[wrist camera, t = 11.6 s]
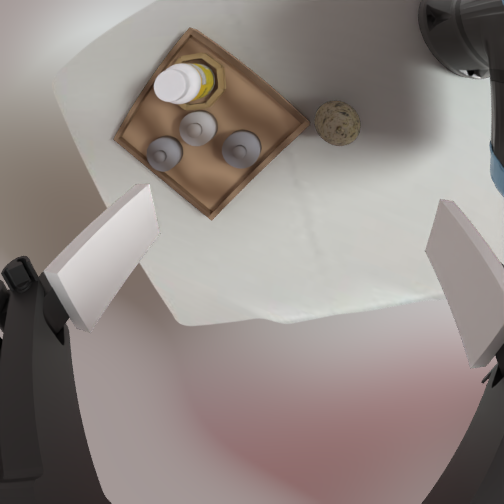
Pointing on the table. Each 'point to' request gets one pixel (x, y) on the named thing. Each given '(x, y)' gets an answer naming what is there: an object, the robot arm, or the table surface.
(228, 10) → the table surface
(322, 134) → the decorative egg
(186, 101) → the supplement bottle
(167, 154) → the carrier
